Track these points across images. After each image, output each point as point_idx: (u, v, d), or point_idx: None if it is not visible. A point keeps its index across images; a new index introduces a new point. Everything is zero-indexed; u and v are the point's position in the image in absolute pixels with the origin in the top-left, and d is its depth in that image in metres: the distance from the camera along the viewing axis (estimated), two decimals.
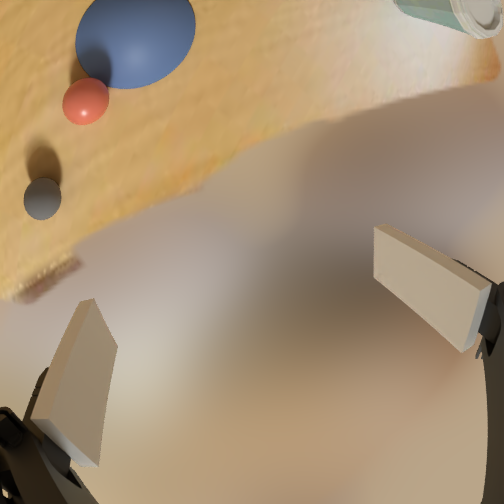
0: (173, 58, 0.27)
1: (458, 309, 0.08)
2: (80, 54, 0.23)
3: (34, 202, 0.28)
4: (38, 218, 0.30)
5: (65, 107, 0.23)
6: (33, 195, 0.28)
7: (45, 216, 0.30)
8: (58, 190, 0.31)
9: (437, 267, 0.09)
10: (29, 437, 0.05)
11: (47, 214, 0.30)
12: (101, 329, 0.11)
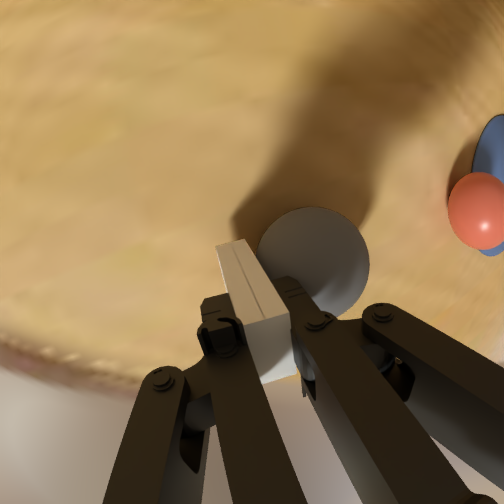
0: None
1: None
2: (482, 145, 0.17)
3: (355, 272, 0.12)
4: None
5: (498, 199, 0.13)
6: (360, 253, 0.12)
7: None
8: None
9: None
10: (247, 352, 0.07)
11: None
12: None
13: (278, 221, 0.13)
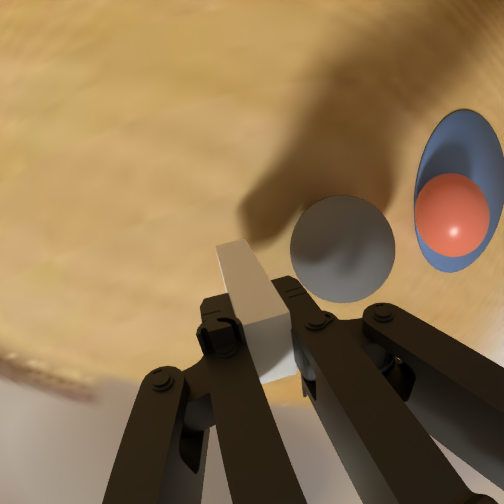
0: (462, 259, 0.21)
1: None
2: (432, 146, 0.17)
3: None
4: None
5: None
6: None
7: None
8: None
9: None
10: (246, 352, 0.07)
11: None
12: None
13: (366, 206, 0.13)
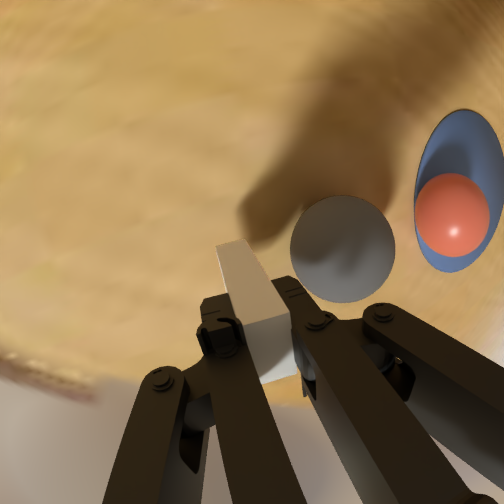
0: (462, 259, 0.21)
1: None
2: (432, 146, 0.17)
3: None
4: None
5: None
6: None
7: None
8: None
9: None
10: (246, 352, 0.07)
11: None
12: None
13: (366, 206, 0.13)
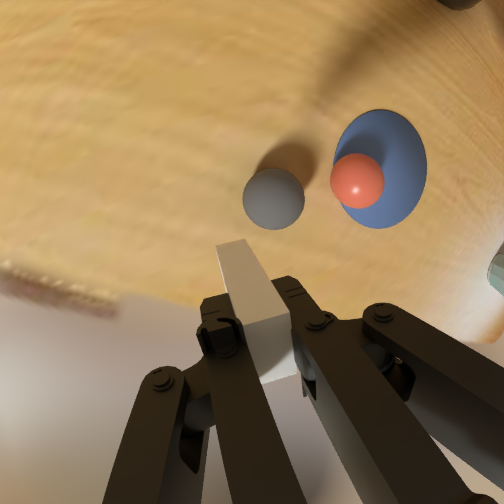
0: (386, 219, 0.33)
1: None
2: (346, 137, 0.28)
3: None
4: None
5: (378, 165, 0.25)
6: None
7: None
8: None
9: None
10: (246, 352, 0.07)
11: None
12: None
13: (282, 172, 0.24)
